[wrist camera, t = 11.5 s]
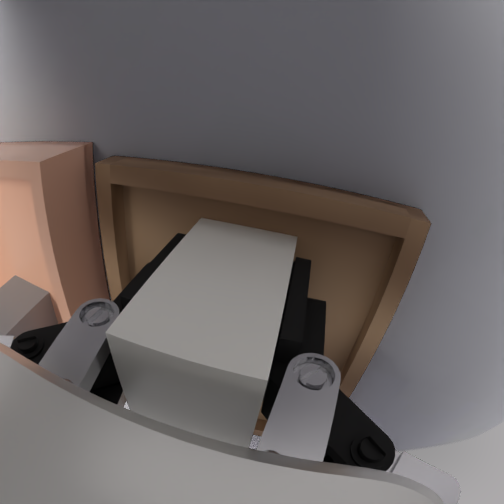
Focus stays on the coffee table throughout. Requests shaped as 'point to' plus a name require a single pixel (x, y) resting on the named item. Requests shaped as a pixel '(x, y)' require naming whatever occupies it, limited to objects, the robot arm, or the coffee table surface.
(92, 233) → the dish
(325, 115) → the coffee table surface
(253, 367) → the light grey rectangular box
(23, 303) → the grey rectangular block
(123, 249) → the tray
